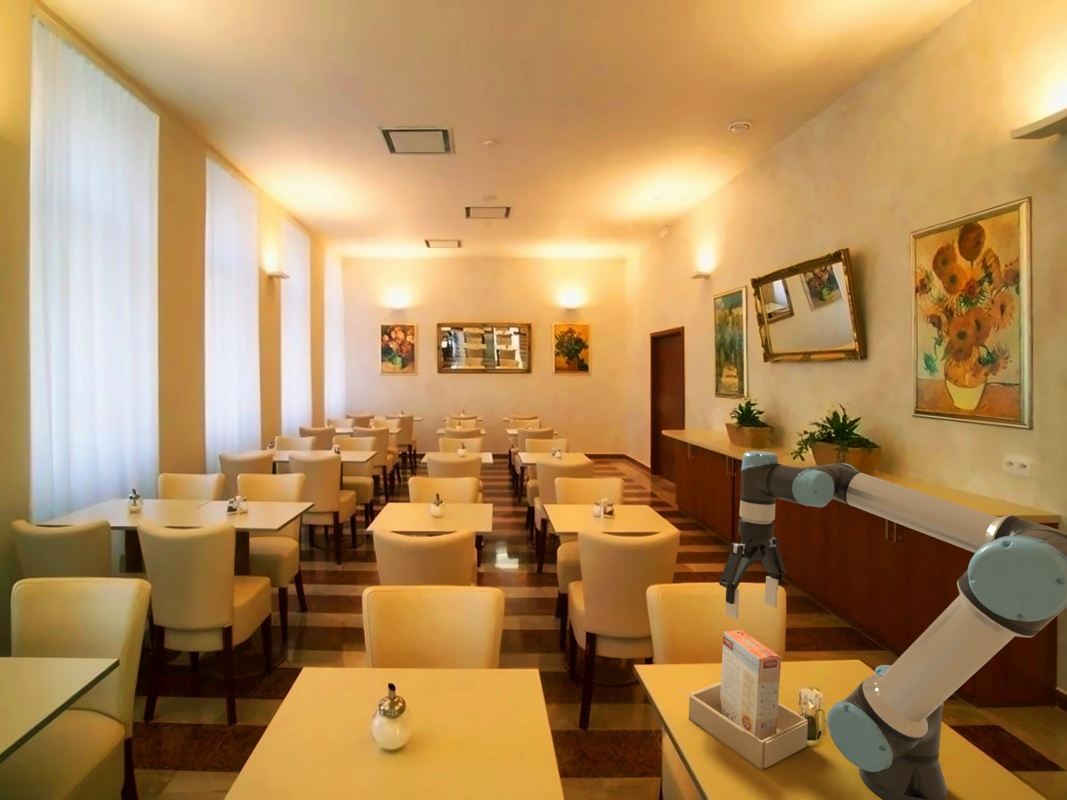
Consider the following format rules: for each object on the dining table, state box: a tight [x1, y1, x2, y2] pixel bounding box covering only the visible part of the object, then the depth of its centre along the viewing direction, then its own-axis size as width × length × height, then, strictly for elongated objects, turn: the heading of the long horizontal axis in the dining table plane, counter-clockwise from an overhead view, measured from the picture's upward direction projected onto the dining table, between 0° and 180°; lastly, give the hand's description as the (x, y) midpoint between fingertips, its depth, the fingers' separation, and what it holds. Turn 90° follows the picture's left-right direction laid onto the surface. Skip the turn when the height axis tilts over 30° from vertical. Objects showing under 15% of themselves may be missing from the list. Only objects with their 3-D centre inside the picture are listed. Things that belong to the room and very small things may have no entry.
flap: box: [676, 686, 758, 741], centre depth 126 cm, size 19×1×6 cm
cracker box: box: [719, 629, 782, 740], centre depth 131 cm, size 14×6×21 cm, turn 14°
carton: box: [688, 681, 809, 771], centre depth 132 cm, size 21×16×6 cm
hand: (751, 611), depth 130 cm, fingers open, 13 cm apart
